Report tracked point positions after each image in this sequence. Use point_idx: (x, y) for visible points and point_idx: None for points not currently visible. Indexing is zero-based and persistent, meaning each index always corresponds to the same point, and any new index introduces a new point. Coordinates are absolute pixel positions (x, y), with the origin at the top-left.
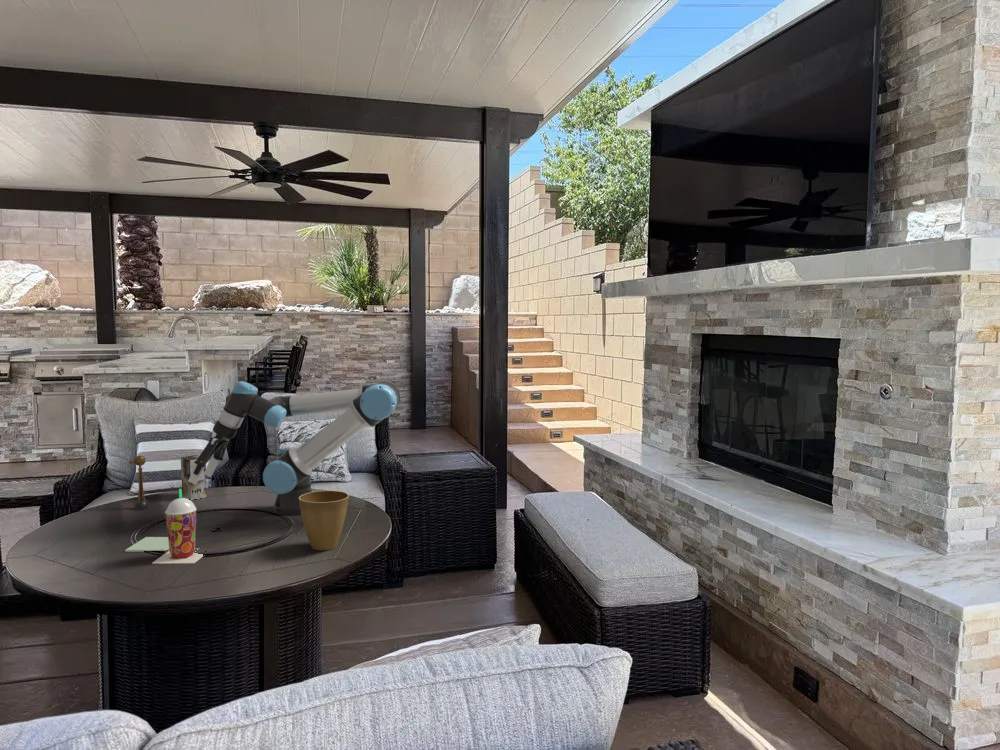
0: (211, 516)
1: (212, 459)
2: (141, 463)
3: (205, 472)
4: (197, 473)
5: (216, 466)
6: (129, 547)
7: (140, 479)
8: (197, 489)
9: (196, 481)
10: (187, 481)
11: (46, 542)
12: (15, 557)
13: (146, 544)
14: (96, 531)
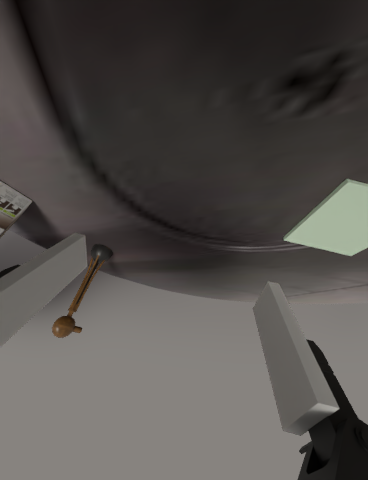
0: (137, 139)
1: (5, 333)
2: (68, 321)
3: (79, 268)
4: (323, 357)
5: (18, 269)
6: (340, 252)
7: (83, 291)
8: (1, 206)
9: (283, 297)
10: (2, 234)
11: (233, 293)
12: None
13: (344, 236)
14: (207, 274)
